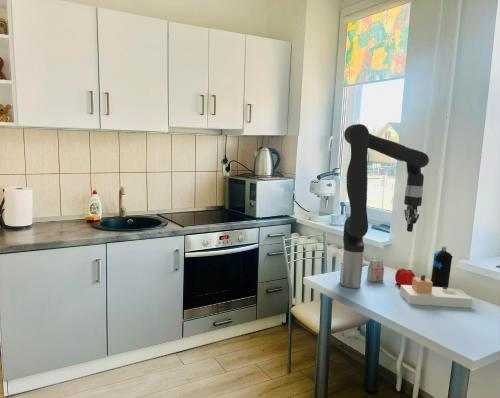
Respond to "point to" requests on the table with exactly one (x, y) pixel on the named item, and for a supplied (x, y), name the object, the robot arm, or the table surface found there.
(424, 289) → the plug
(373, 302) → the table surface
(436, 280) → the aerosol can
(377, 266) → the small beige carton
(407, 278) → the tomato
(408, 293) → the block
